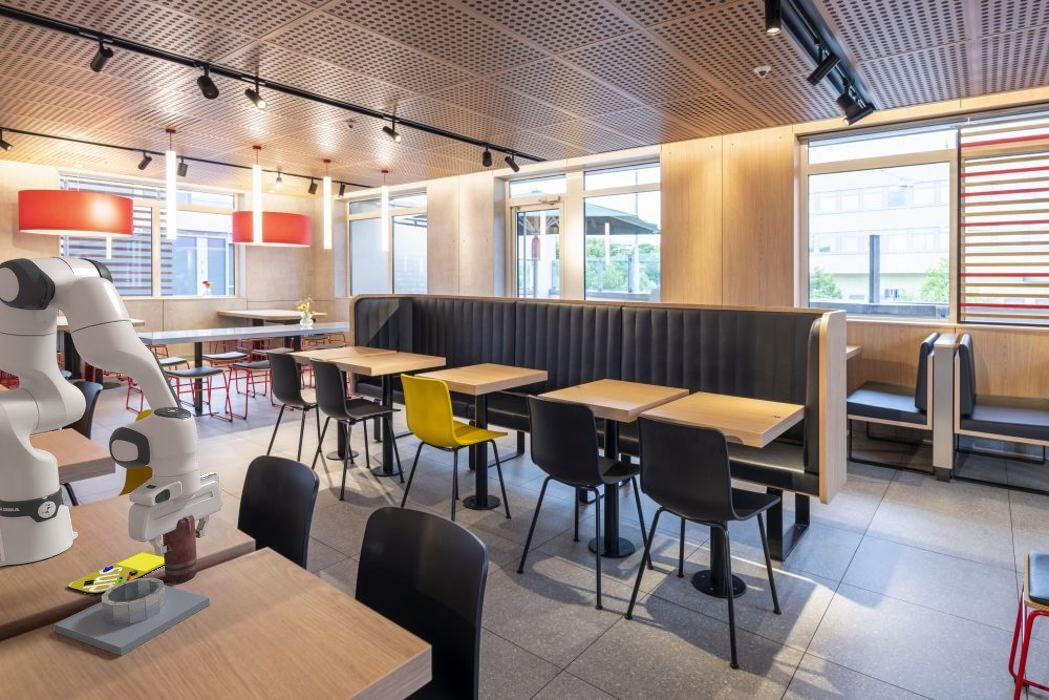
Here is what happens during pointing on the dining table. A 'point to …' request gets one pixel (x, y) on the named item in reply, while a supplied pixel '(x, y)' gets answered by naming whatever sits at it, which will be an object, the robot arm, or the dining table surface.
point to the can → (181, 551)
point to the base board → (128, 637)
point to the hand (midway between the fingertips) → (181, 545)
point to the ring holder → (133, 601)
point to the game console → (118, 573)
